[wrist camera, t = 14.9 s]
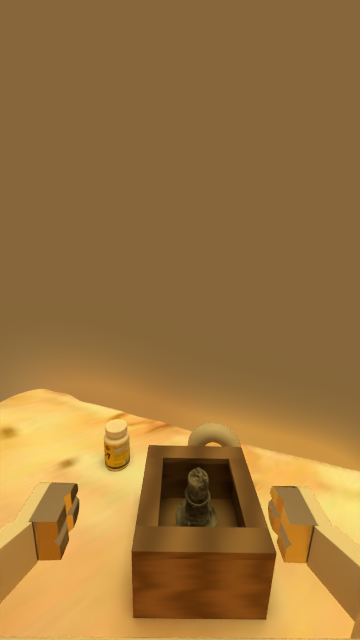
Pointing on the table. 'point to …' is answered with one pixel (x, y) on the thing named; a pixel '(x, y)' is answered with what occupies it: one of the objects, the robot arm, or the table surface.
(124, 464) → the supplement bottle
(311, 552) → the robot arm
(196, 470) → the salt shaker
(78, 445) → the table surface
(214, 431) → the donut
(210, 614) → the box
